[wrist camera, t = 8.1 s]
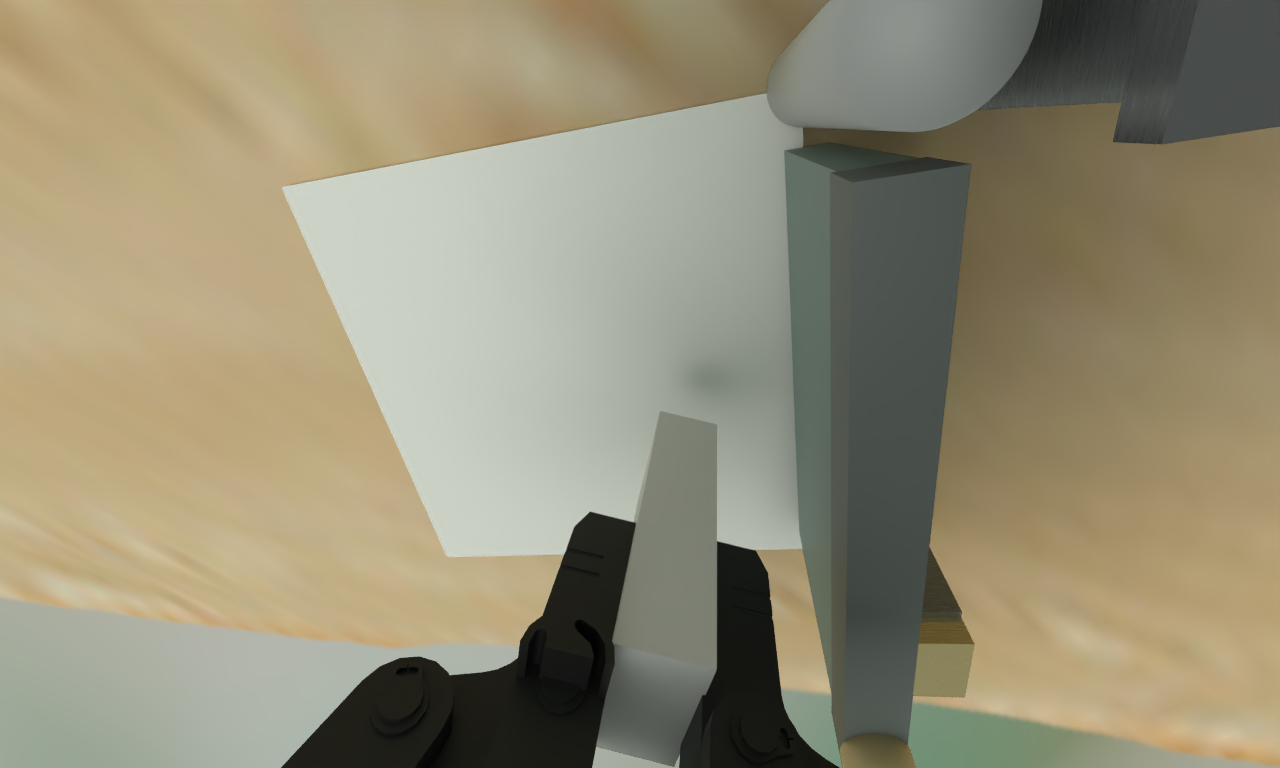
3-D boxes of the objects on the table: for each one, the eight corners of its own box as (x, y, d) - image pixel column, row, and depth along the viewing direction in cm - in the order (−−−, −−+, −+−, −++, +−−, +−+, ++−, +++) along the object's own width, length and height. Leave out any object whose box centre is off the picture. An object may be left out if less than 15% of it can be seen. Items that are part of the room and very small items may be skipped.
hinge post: (957, -3, 13) (1887, -488, 3) (947, 112, 14) (1573, 82, 4) (849, 21, 13) (1279, -314, 3) (848, 129, 14) (1161, 144, 4)
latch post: (888, 465, 19) (975, 639, 13) (885, 517, 20) (963, 702, 14) (838, 467, 20) (898, 638, 13) (838, 519, 21) (894, 699, 14)
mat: (799, 87, 14) (802, 86, 14) (811, 541, 22) (812, 548, 21) (290, 185, 17) (281, 187, 17) (451, 550, 25) (446, 556, 24)
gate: (764, 48, 13) (853, -94, 5) (845, 31, 13) (1112, -161, 4) (788, 532, 20) (841, 832, 12) (841, 530, 20) (935, 839, 11)
